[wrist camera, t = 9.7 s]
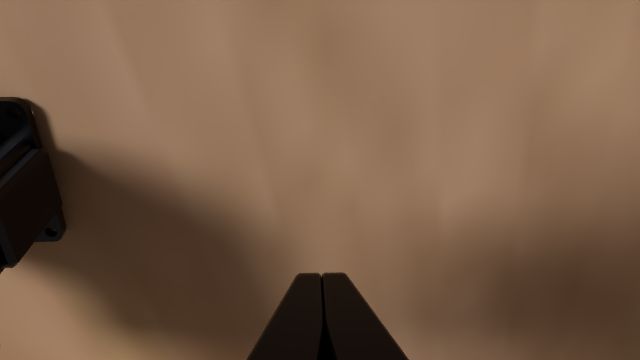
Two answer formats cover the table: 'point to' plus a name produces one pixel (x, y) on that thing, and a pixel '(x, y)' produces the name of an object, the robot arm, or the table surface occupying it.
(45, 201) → the robot arm
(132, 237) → the table surface
